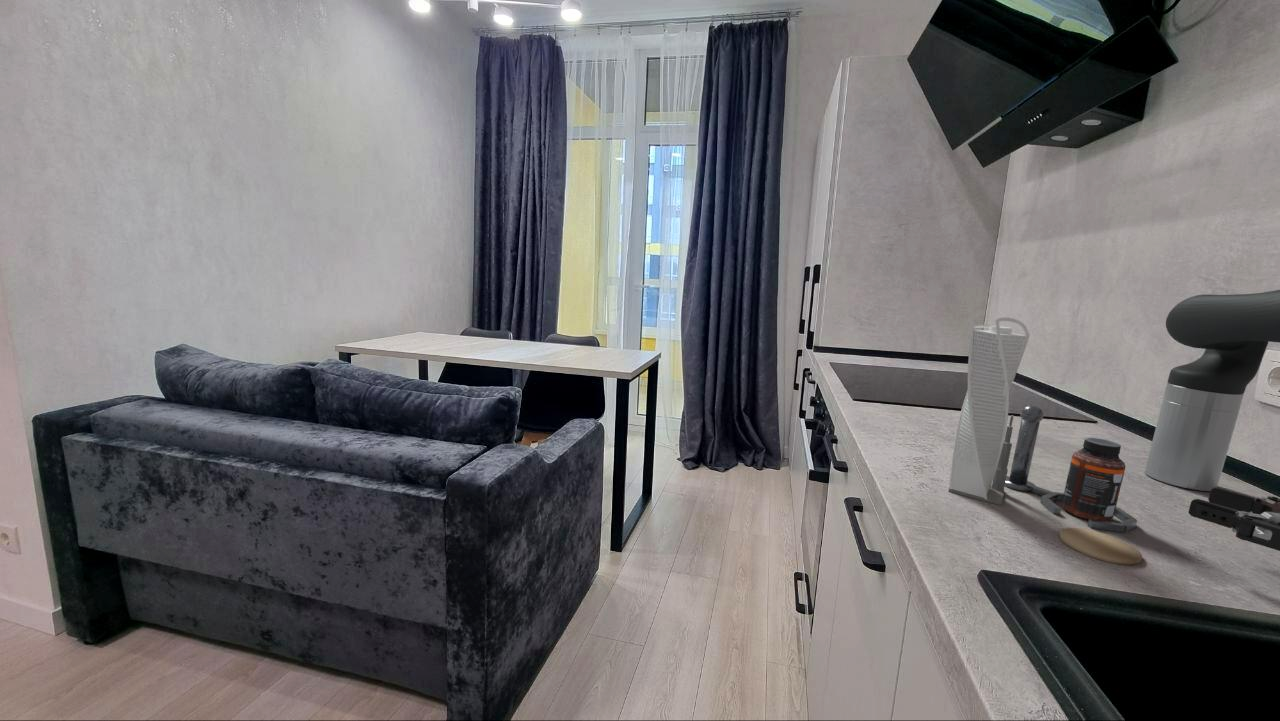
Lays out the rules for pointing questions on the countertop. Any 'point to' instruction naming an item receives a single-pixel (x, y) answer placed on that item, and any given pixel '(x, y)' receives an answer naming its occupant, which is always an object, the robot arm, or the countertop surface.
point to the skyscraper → (987, 413)
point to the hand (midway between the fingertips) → (1200, 500)
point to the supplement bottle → (1094, 480)
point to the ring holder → (1019, 482)
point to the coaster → (1100, 546)
